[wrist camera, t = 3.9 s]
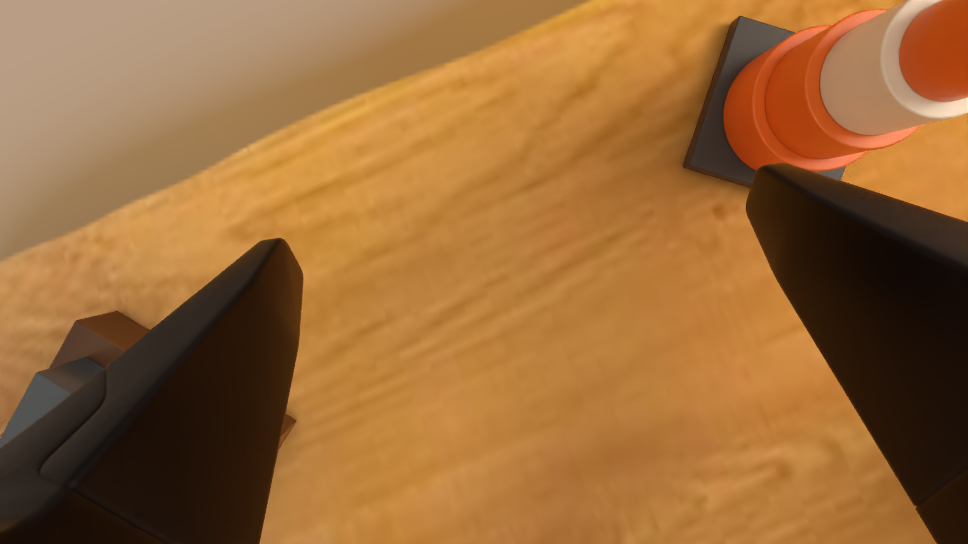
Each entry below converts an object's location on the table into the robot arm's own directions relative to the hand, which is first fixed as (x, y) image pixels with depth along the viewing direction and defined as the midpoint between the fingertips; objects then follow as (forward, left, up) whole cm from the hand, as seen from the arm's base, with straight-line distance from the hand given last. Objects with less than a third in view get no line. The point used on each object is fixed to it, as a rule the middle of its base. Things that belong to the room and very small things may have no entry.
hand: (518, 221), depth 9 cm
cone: (-6, -13, -15) cm, 21 cm away
